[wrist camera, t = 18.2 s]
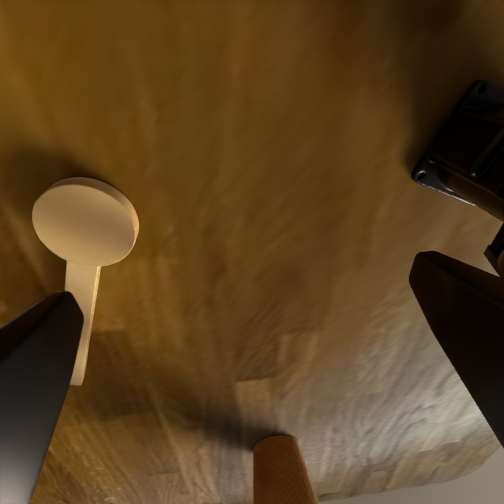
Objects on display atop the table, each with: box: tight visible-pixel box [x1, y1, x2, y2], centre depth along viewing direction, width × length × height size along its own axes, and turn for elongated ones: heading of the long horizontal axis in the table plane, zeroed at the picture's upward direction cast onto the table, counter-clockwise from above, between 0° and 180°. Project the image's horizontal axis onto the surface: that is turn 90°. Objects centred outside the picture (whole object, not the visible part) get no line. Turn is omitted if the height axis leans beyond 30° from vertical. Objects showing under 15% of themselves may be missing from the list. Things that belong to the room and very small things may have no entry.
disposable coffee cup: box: [253, 435, 318, 504], centre depth 37 cm, size 10×10×12 cm
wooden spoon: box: [32, 177, 139, 385], centre depth 23 cm, size 20×6×1 cm, turn 159°
